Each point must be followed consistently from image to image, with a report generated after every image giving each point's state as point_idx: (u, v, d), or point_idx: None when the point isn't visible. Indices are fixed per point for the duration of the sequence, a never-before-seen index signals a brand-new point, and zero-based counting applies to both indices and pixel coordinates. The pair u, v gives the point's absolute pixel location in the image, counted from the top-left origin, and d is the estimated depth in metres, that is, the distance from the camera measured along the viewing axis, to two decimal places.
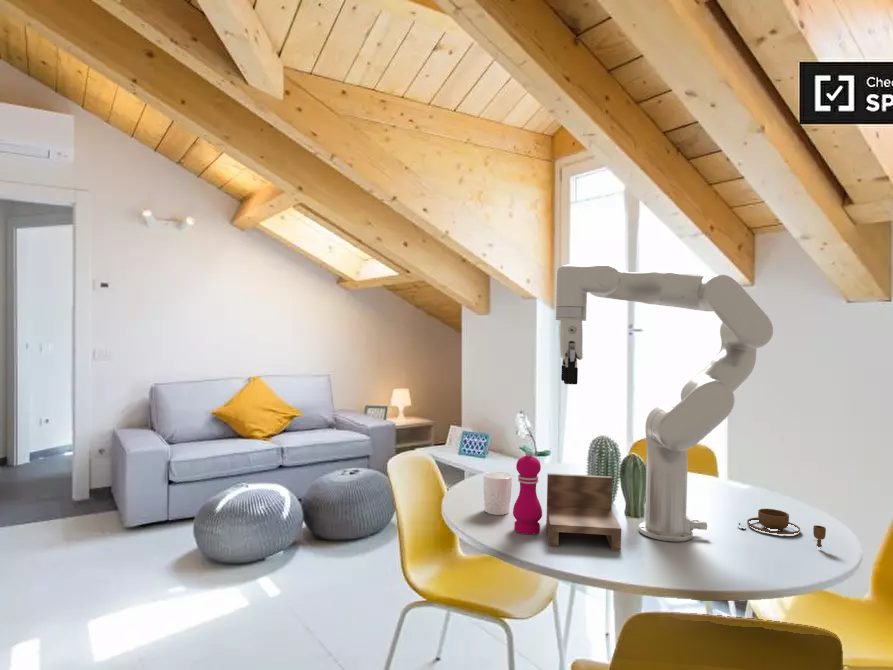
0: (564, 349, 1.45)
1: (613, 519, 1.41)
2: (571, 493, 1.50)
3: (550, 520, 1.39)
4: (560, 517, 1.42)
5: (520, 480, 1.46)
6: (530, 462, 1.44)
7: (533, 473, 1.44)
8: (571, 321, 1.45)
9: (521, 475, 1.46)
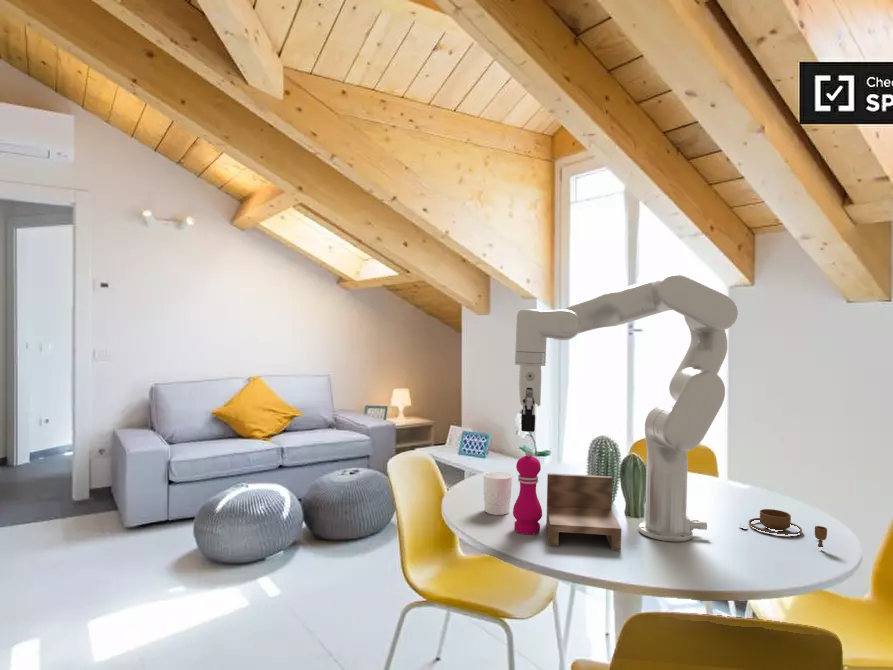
0: (522, 396, 1.42)
1: (613, 519, 1.41)
2: (571, 493, 1.50)
3: (550, 520, 1.39)
4: (560, 517, 1.42)
5: (520, 480, 1.46)
6: (530, 462, 1.44)
7: (533, 473, 1.44)
8: (529, 367, 1.42)
9: (521, 475, 1.46)
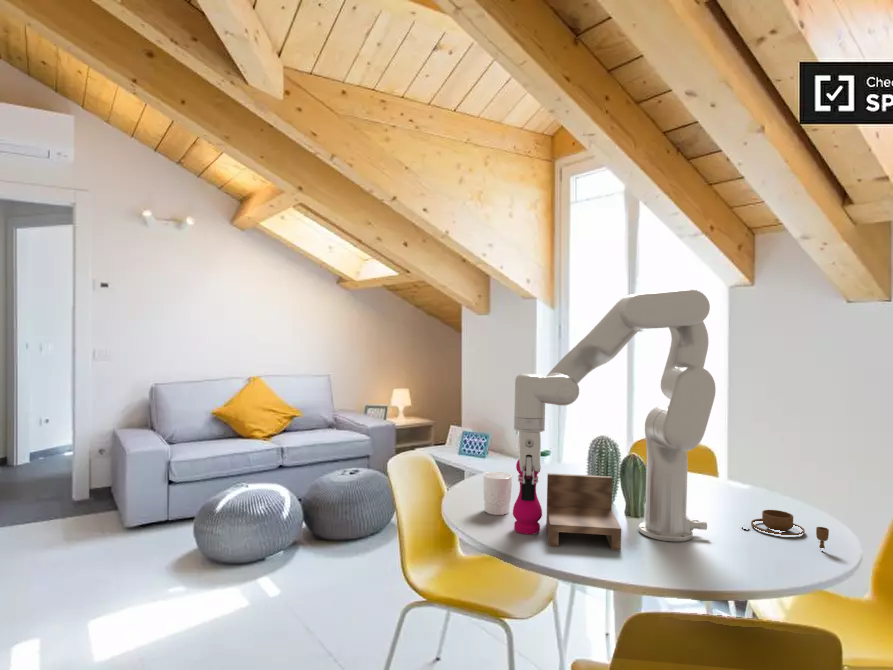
0: (521, 462, 1.42)
1: (613, 519, 1.41)
2: (571, 493, 1.50)
3: (550, 520, 1.39)
4: (560, 517, 1.42)
5: (520, 480, 1.46)
6: None
7: None
8: (528, 434, 1.43)
9: (521, 475, 1.46)
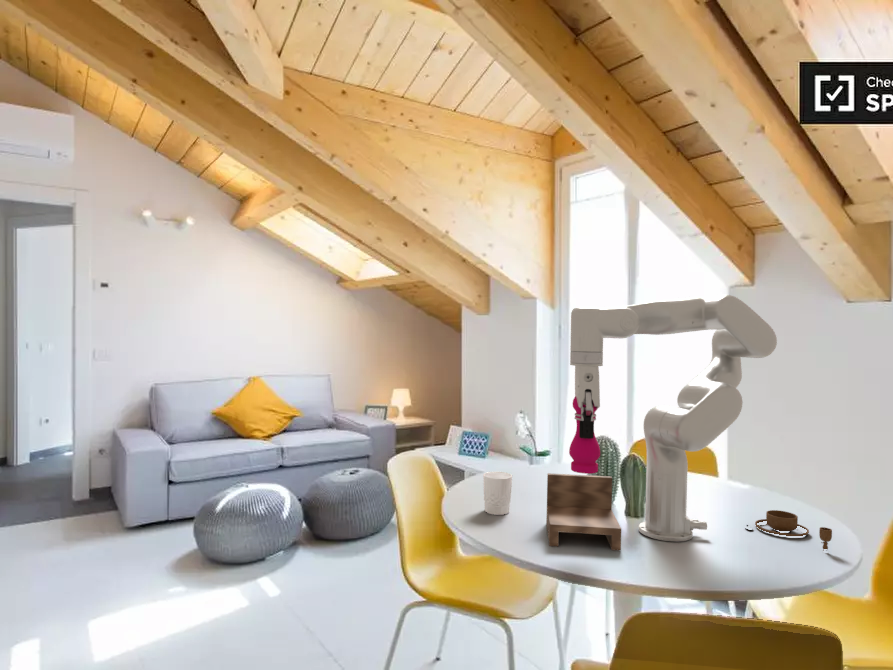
0: (580, 398, 1.36)
1: (613, 519, 1.41)
2: (571, 493, 1.50)
3: (550, 520, 1.39)
4: (560, 517, 1.42)
5: (577, 417, 1.39)
6: None
7: None
8: (587, 368, 1.36)
9: (578, 412, 1.39)
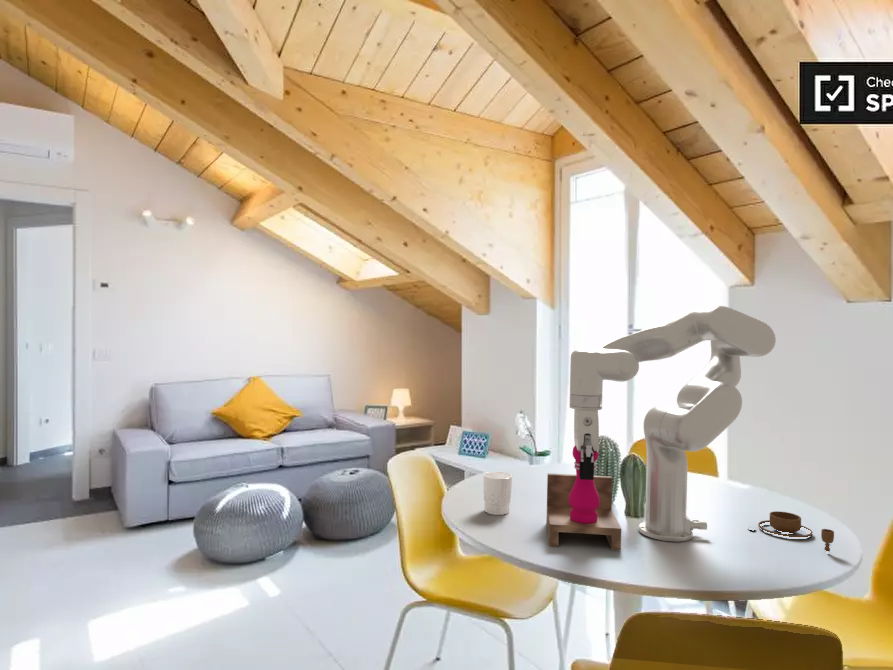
0: (579, 442, 1.36)
1: (613, 519, 1.41)
2: None
3: (550, 520, 1.39)
4: (560, 517, 1.42)
5: (577, 467, 1.39)
6: None
7: None
8: (586, 412, 1.36)
9: (578, 462, 1.39)
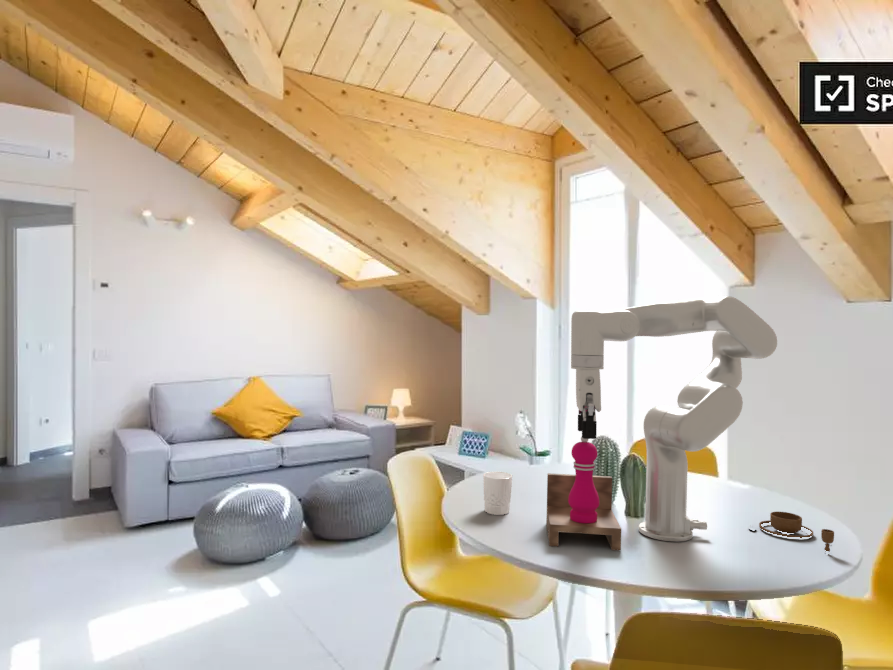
0: (581, 401, 1.36)
1: (613, 519, 1.41)
2: None
3: (550, 520, 1.39)
4: (560, 517, 1.42)
5: (576, 467, 1.39)
6: (587, 448, 1.38)
7: (590, 459, 1.38)
8: (588, 371, 1.36)
9: (577, 462, 1.39)
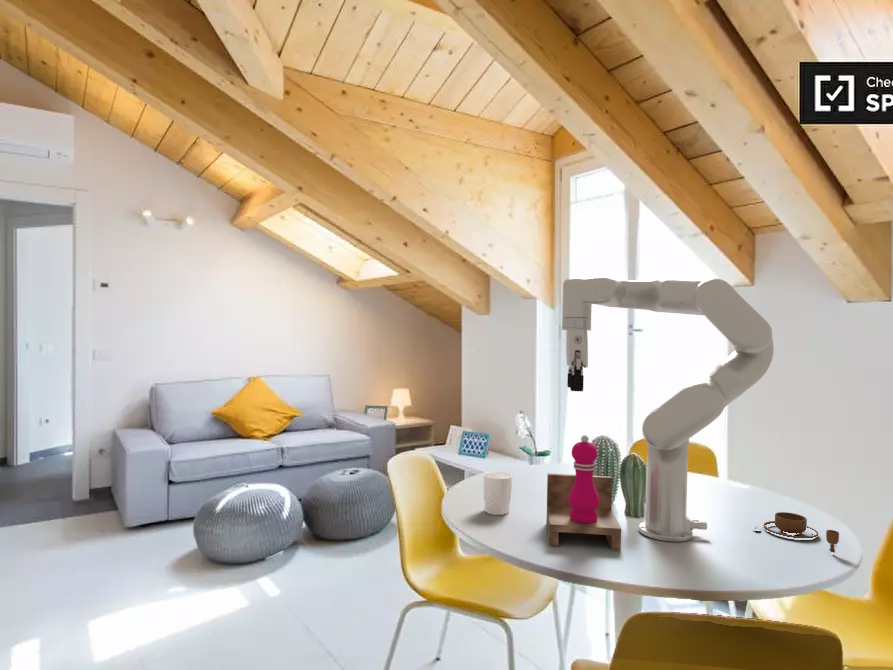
0: (570, 358, 1.53)
1: (613, 519, 1.41)
2: None
3: (550, 520, 1.39)
4: (560, 517, 1.42)
5: (576, 467, 1.39)
6: (587, 448, 1.38)
7: (590, 459, 1.38)
8: (577, 331, 1.53)
9: (577, 462, 1.39)
